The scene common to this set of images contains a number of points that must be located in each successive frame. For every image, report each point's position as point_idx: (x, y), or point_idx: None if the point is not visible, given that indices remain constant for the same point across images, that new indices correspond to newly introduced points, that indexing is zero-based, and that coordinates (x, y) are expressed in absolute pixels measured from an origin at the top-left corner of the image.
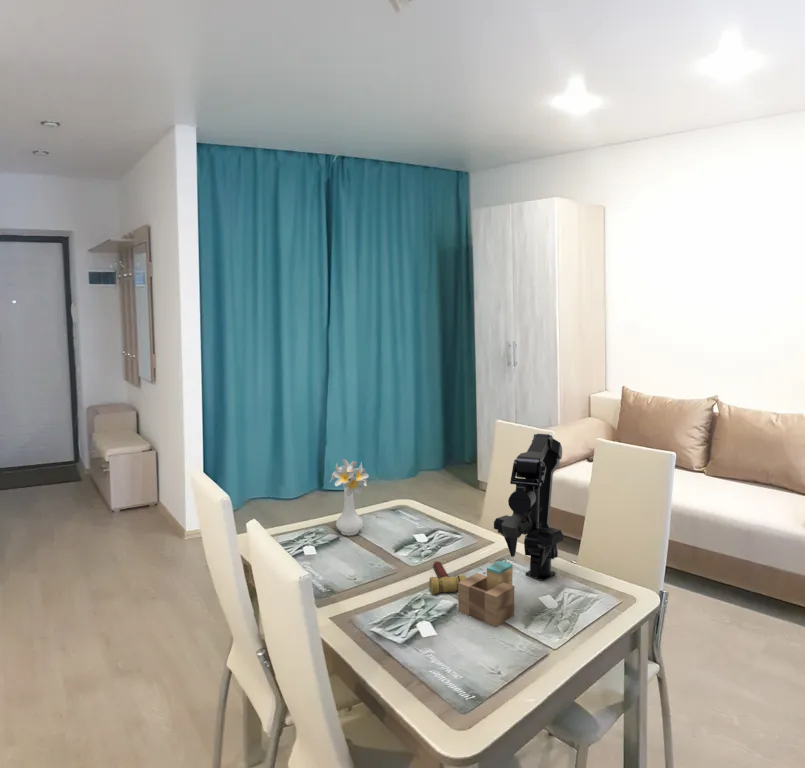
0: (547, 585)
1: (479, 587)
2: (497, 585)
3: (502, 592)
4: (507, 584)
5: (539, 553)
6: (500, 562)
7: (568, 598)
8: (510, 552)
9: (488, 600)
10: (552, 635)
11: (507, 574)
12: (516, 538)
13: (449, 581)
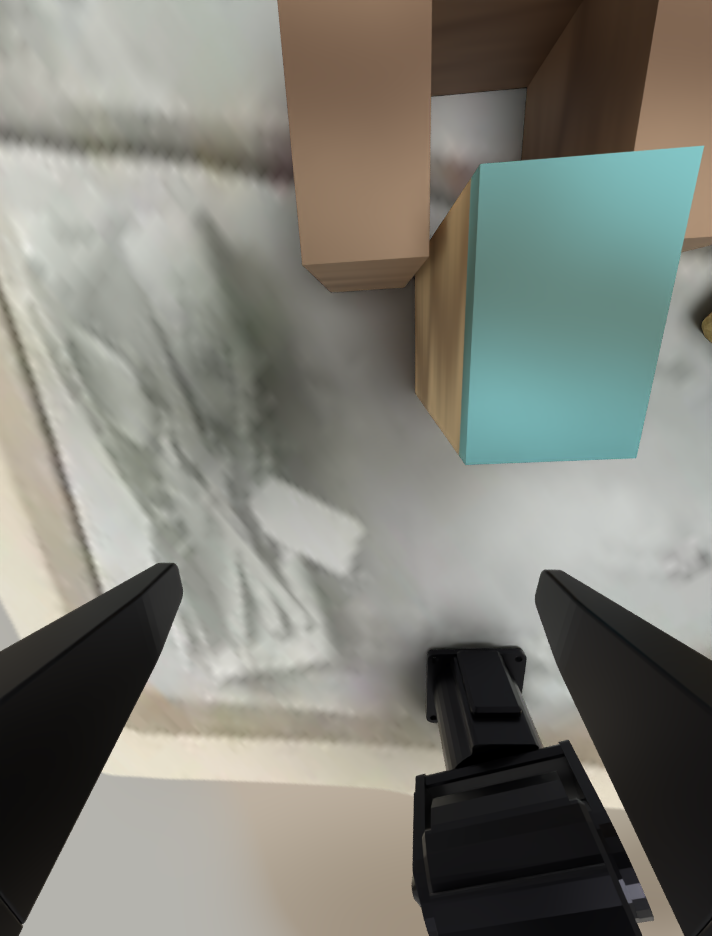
0: (397, 630)
1: (602, 109)
2: (428, 137)
3: (289, 22)
4: (369, 243)
5: (21, 676)
6: (609, 420)
7: (267, 595)
8: (592, 595)
9: None
10: (68, 261)
11: (452, 359)
12: (673, 879)
13: None
